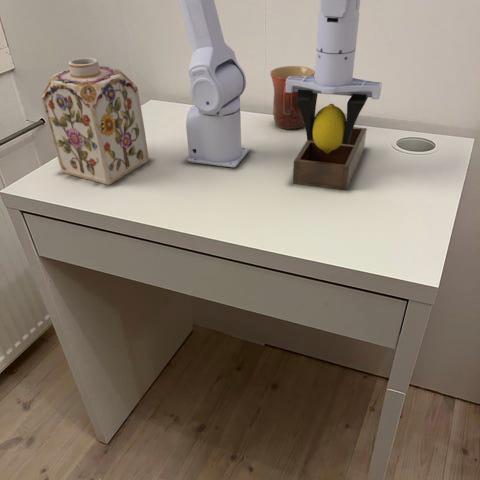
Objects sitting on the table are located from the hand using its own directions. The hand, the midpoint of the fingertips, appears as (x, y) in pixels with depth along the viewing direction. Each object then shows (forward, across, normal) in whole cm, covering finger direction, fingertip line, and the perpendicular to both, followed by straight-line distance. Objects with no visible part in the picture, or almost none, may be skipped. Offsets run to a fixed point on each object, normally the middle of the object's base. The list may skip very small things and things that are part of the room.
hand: (328, 140), depth 83 cm
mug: (+6, -12, +20) cm, 24 cm away
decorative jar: (+6, -39, -8) cm, 40 cm away
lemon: (+2, 0, 0) cm, 2 cm away
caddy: (+6, 0, +4) cm, 7 cm away
